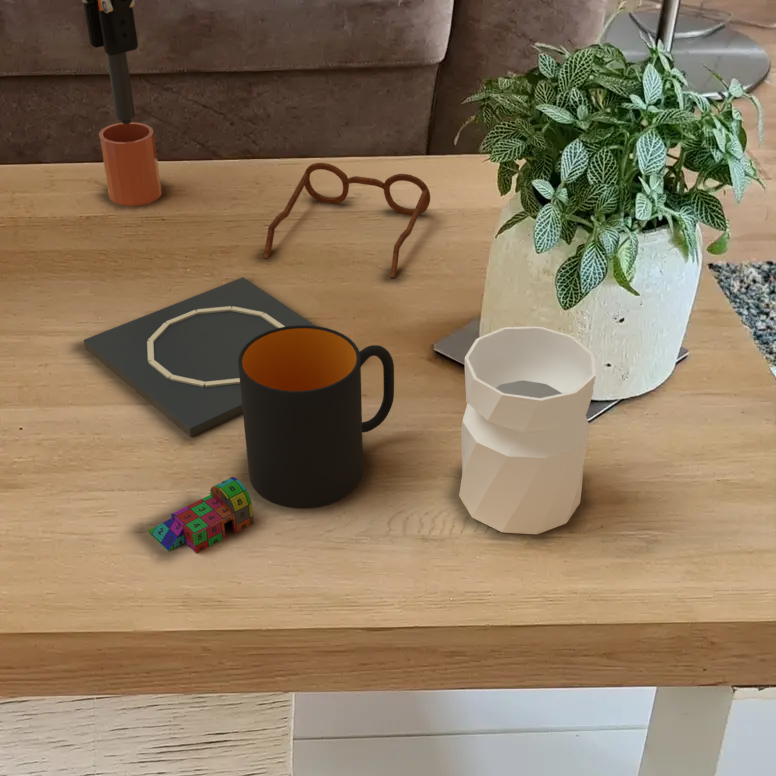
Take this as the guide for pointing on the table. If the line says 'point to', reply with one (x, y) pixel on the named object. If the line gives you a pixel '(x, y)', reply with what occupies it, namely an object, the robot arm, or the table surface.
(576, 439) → the vase
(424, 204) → the glasses
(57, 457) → the table surface
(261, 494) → the mug
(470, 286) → the table surface
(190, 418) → the board
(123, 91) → the marker
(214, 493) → the toy block structure
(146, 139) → the pen cup
